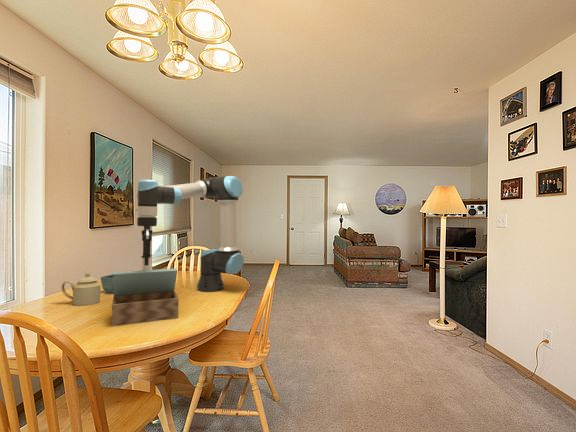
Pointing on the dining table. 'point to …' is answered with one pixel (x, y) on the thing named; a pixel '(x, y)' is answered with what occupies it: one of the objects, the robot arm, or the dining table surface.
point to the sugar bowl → (84, 291)
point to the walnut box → (144, 307)
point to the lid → (144, 281)
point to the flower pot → (107, 283)
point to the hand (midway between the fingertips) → (146, 272)
